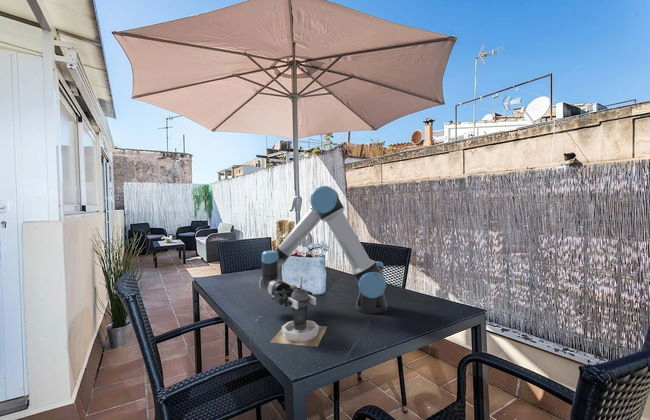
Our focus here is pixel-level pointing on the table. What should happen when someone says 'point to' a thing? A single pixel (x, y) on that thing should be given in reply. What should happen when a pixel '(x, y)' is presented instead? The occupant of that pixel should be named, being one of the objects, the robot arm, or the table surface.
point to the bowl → (300, 332)
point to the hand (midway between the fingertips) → (306, 303)
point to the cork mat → (313, 342)
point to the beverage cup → (300, 308)
